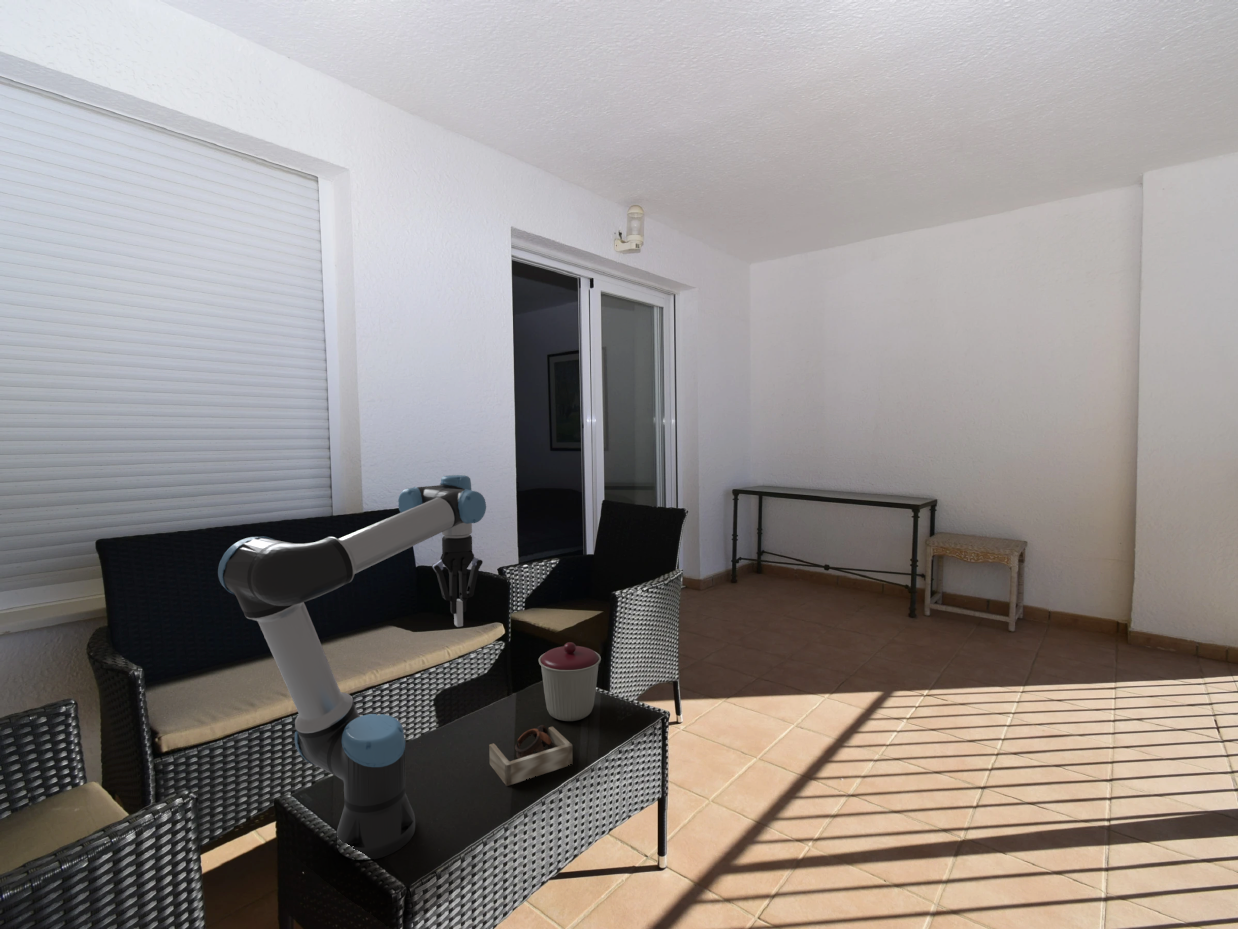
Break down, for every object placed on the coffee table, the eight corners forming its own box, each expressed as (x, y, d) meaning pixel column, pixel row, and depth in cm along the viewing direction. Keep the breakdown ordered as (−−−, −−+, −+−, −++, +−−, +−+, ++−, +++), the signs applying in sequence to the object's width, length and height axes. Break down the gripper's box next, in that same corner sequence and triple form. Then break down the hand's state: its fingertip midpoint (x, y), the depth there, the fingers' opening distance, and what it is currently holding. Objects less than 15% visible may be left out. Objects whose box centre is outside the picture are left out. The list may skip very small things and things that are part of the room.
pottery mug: (556, 770, 152) (539, 746, 150) (524, 783, 154) (507, 759, 152) (563, 734, 164) (547, 711, 162) (532, 747, 166) (517, 724, 163)
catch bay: (506, 786, 145) (506, 765, 144) (489, 764, 154) (489, 744, 154) (572, 764, 154) (572, 745, 154) (552, 744, 163) (552, 726, 163)
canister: (564, 735, 169) (563, 659, 167) (526, 712, 182) (526, 642, 181) (613, 714, 181) (613, 643, 179) (575, 694, 194) (574, 628, 193)
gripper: (476, 530, 166) (477, 617, 168) (427, 535, 159) (429, 625, 161) (486, 535, 160) (487, 624, 161) (435, 540, 153) (437, 633, 154)
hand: (458, 625), depth 161 cm, fingers closed
